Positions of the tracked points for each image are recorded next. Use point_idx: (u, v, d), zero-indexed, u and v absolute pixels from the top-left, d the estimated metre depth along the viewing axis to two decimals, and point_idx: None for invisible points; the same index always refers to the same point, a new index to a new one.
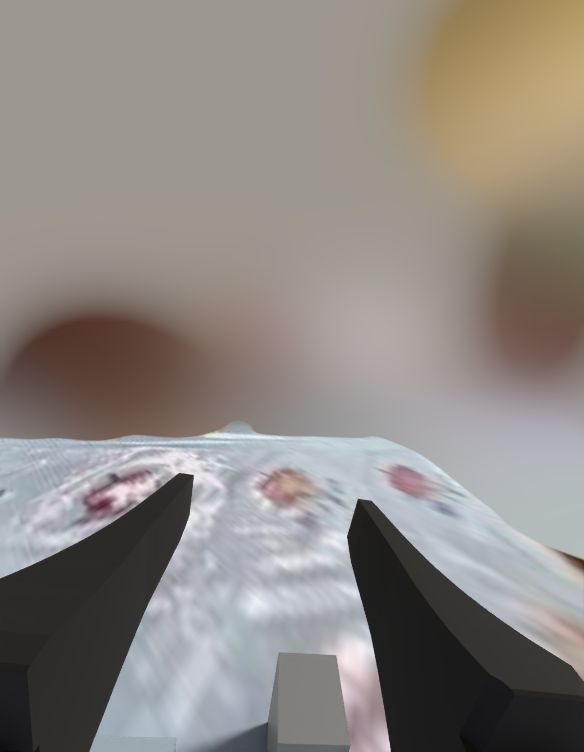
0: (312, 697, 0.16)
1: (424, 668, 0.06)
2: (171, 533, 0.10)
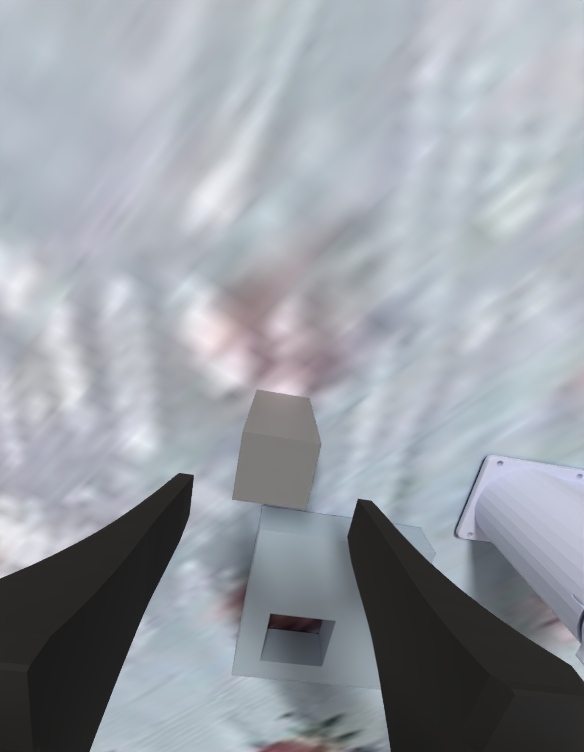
0: (279, 471, 0.14)
1: (424, 668, 0.06)
2: (171, 533, 0.10)
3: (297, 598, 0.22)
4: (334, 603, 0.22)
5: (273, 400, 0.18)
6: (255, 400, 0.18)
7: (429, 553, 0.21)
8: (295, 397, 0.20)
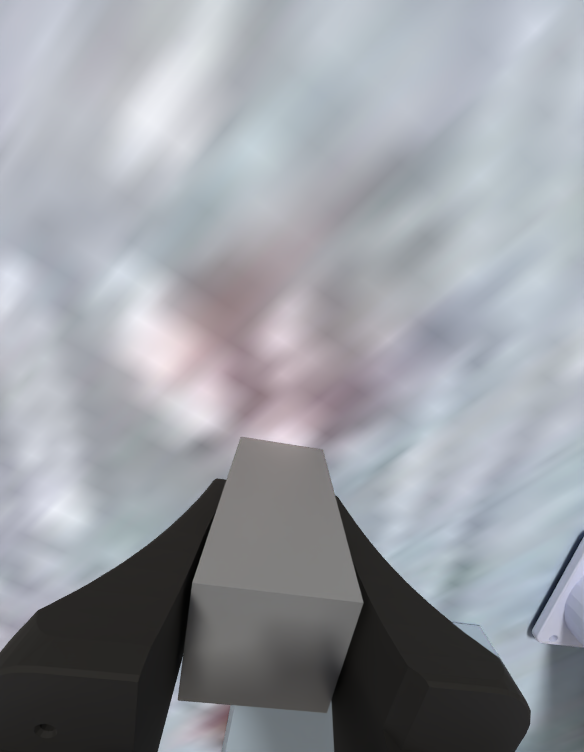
0: (273, 652, 0.07)
1: (361, 662, 0.06)
2: None
3: (303, 742, 0.15)
4: None
5: (266, 462, 0.11)
6: (235, 465, 0.11)
7: None
8: (301, 451, 0.13)
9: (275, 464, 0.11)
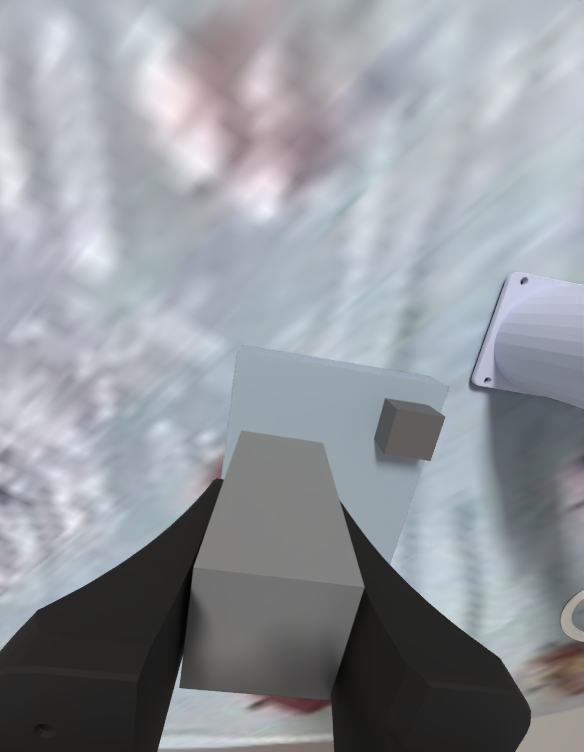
0: (275, 637, 0.07)
1: (362, 662, 0.06)
2: None
3: None
4: (329, 456, 0.19)
5: (266, 454, 0.11)
6: (236, 457, 0.11)
7: (441, 386, 0.18)
8: (301, 444, 0.13)
9: (275, 456, 0.11)
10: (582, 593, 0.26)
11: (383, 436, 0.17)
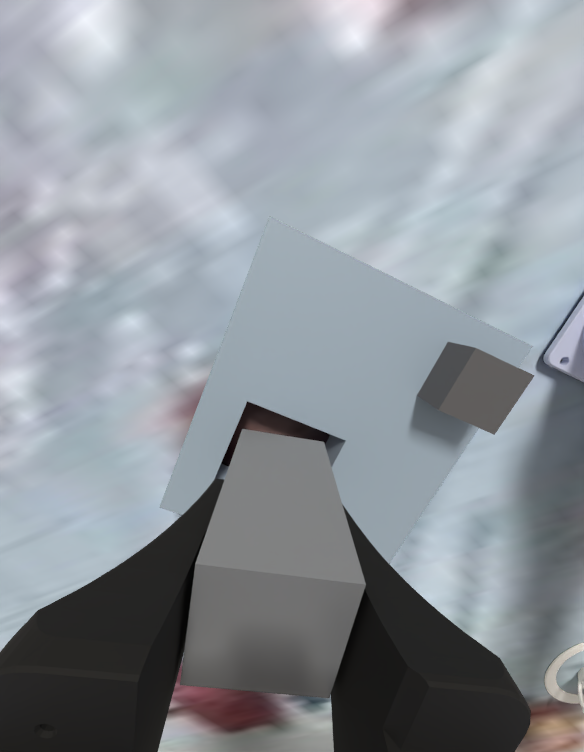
0: (276, 634, 0.07)
1: (361, 662, 0.06)
2: None
3: (297, 381, 0.13)
4: (352, 406, 0.14)
5: (267, 452, 0.11)
6: (237, 455, 0.11)
7: (522, 344, 0.13)
8: (302, 443, 0.13)
9: (276, 454, 0.11)
10: (579, 647, 0.22)
11: (438, 388, 0.12)
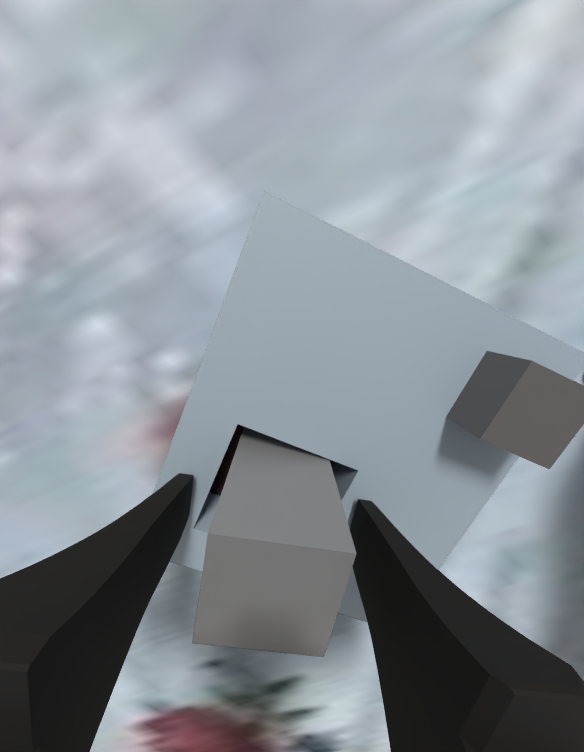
0: (277, 597, 0.08)
1: (424, 668, 0.06)
2: (171, 533, 0.10)
3: (299, 399, 0.11)
4: (367, 429, 0.11)
5: (269, 443, 0.12)
6: (241, 444, 0.12)
7: (578, 354, 0.11)
8: None
9: (278, 445, 0.12)
10: None
11: (477, 410, 0.10)
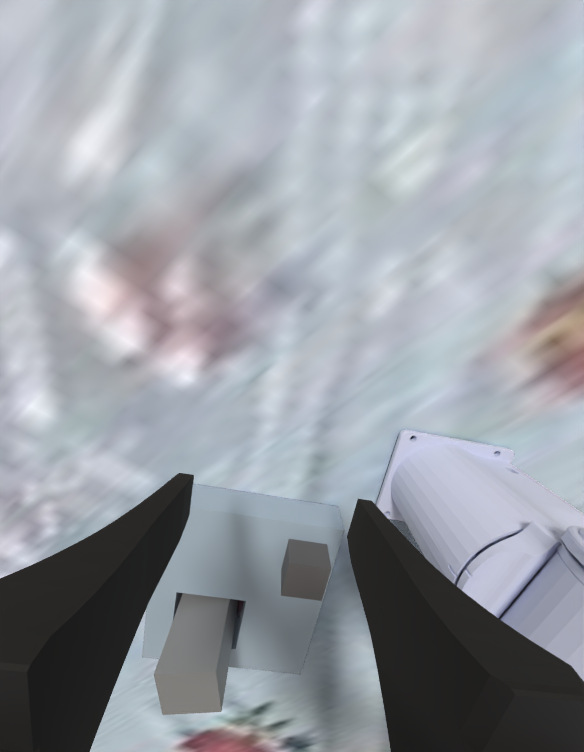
0: (191, 692, 0.18)
1: (424, 668, 0.06)
2: (171, 533, 0.10)
3: (203, 576, 0.21)
4: (242, 582, 0.21)
5: None
6: (182, 598, 0.22)
7: (337, 530, 0.20)
8: None
9: None
10: None
11: (283, 576, 0.20)
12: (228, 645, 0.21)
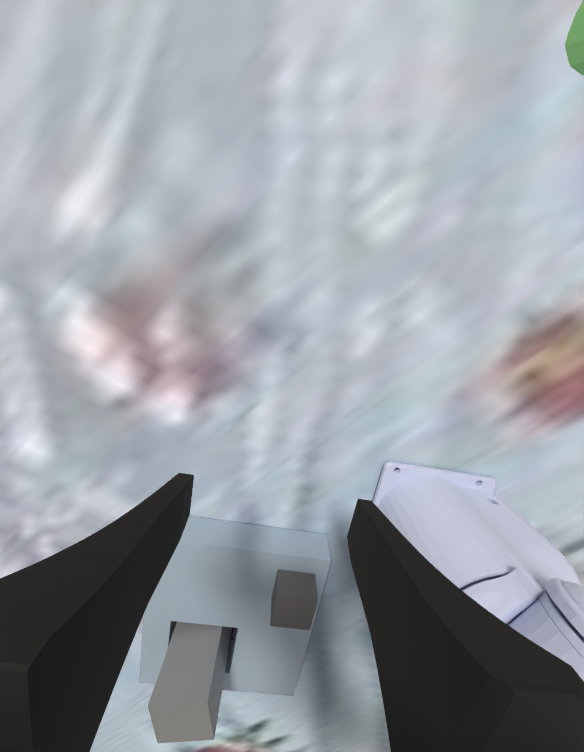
0: (184, 722, 0.19)
1: (424, 668, 0.06)
2: (171, 533, 0.10)
3: (196, 605, 0.22)
4: (234, 610, 0.22)
5: None
6: (177, 626, 0.23)
7: (324, 561, 0.21)
8: None
9: None
10: None
11: (272, 606, 0.21)
12: (221, 672, 0.22)
